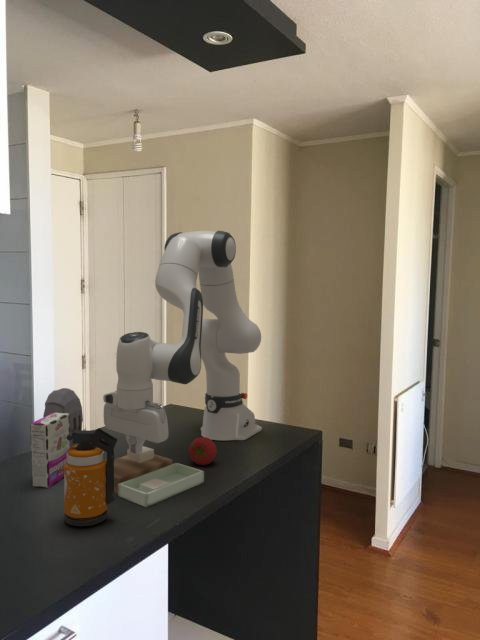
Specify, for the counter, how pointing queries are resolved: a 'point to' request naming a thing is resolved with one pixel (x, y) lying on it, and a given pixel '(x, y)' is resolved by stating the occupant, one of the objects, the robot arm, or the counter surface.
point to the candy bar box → (49, 449)
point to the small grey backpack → (66, 408)
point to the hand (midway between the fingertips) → (135, 452)
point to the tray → (178, 482)
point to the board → (136, 468)
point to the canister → (89, 477)
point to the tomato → (202, 451)
